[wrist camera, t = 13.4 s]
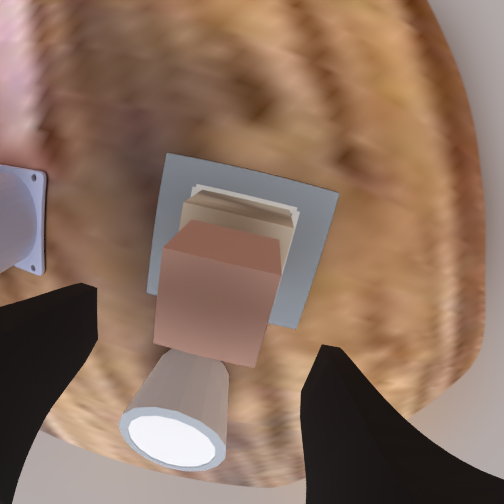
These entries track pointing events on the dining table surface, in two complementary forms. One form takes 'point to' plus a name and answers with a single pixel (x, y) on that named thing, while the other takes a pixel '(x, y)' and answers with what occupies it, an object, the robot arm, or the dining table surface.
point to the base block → (240, 216)
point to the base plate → (259, 190)
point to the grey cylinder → (180, 413)
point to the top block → (216, 292)
